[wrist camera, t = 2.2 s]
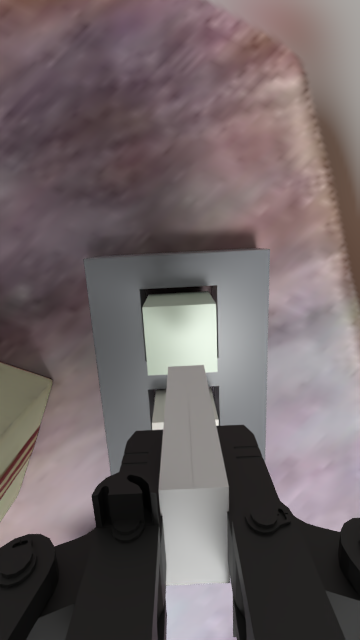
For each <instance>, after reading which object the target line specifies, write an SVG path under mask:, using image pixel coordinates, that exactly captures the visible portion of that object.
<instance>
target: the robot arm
mask: <svg viewBox="0 0 360 640" xmlns="http://www.w3.org/2000/svg"><path fill="white" fill-rule="evenodd" d="M92 501H93V508H94V515H95V521H96V528H95V529H93V530H92V531H91V532H89V533H88V534H86V535H84V536H82V537H79V538H77V539H75V540H72V541H69V542H66V543H63V544H60V545H57V546H55V547H54V545H53V544H52V542H51V540H50V538H47V537H45V536H43V535H41V534H28V535H25V536H22V537H19V538H16V539H14V540H12V541H10V542H9V543H7V544H6V545H4V546H2V547H1V548H0V640H166V625H167V612H166V600H165V594H166V586H170V585H193V584H216V583H230V578H231V585H232V591H233V637H237V640H360V518H352V519H351V520H349V521H347V522H346V523H344V525H343V527H342V529H341V532H337V531H333V530H329V529H325V528H321V527H316V526H313V525H310V524H308V523H305V522H303V521H301V520H300V519H298V518H296V517H295V516H293V514H292V512H291V511H290V509H289V508H288V507H287V506H285V505H284V504H283V503H282V502H281V501H280V500H279V498H278V495H277V493H276V490H275V488H274V485H273V482H272V480H271V477H270V475H269V472H268V469H267V467H266V464H265V462H264V459H263V458H262V454H261V451H260V449H259V448H258V444H257V441H256V439H255V436H254V434H253V433H252V432H251V431H250V430H249V429H248V428H247V427H246V426H245V425H224V426H216V422H215V417H214V412H213V407H212V402H211V397H210V392H209V387H208V383H207V378H206V373H205V368H204V365H192V366H172V367H168V376H167V388H166V401H165V414H164V427H163V430H143V431H135V432H134V434H133V435H132V436H131V437H130V438H129V439H128V441H127V443H126V447H125V451H124V456H123V459H122V463H121V467H120V471H119V472H118V473H116V474H114V475H111V476H109V477H107V478H106V479H105V480H103V481H102V482H101V483H100V484H99V485H98V486H97V487H96V489H95V491H94V492H93V494H92Z"/></svg>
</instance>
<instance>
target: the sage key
mask: <svg viewBox="0 0 360 640" xmlns="http://www.w3.org/2000/svg"><path fill="white" fill-rule="evenodd" d="M142 310H143V322H144V334H145V346H146V358H147V370H148V376H149V375H168V367H172V366H192V365H204V368H205V373H207V372H218V369H217V322H216V303H215V301H214V300H213V298H212V296H211V295H210V293H209V292H208V291H204V292H185V293H166V294H149V295H148V297H147V299H146V301H145V303H144V305H143V307H142Z"/></svg>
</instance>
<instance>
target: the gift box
mask: <svg viewBox="0 0 360 640" xmlns="http://www.w3.org/2000/svg"><path fill="white" fill-rule="evenodd" d="M51 387H52V380H51V379H49V378H47V377H44V376H41V375H38V374H35V373H32V372H29V371H26V370H23V369H20V368H17V367H14V366H11V365H8V364H5V363H2V362H0V522H1V520H2V519H3V517H4V516H5V514H6V513H7V511H8V510H9V508H10V507H11V505H12V504H13V502H14V501H15V499H16V497H17V496H18V494H19V491H20V488H21V485H22V481H23V478H24V475H25V472H26V468H27V465H28V462H29V459H30V456H31V454H32V451H33V448H34V445H35V442H36V438H37V435H38V431H39V428H40V423H41V420H42V417H43V414H44V410H45V407H46V404H47V400H48V397H49V393H50V390H51Z"/></svg>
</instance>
